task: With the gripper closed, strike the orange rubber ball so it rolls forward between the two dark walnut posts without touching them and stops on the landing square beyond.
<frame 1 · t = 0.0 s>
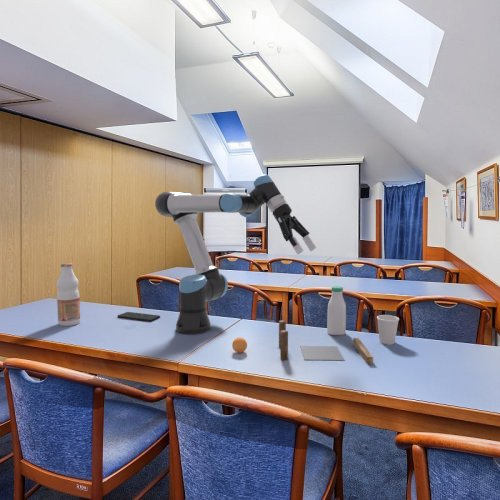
hand: (307, 251, 157), 36 cm above the table, tool tilted 35°, fingers open, 13 cm apart
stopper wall: (362, 353, 143), on the table
ball: (239, 345, 144), on the table
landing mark: (321, 353, 144), on the table
milk bottle: (336, 333, 167), on the table
fruit juice: (69, 324, 182), on the table
post 2: (284, 359, 138), on the table
post 1: (282, 346, 150), on the table
smart home device: (138, 319, 192), on the table
dixie cup: (387, 342, 156), on the table
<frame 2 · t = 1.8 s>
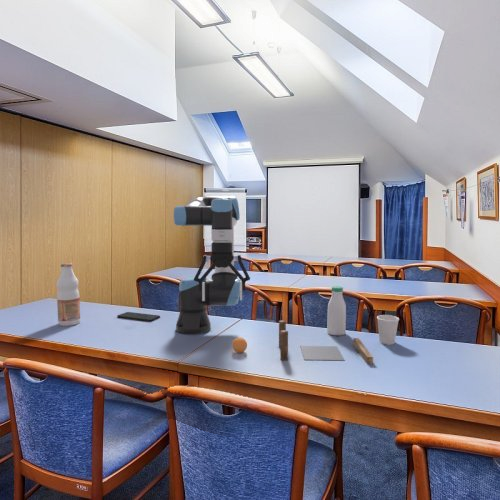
hand: (222, 300, 143), 20 cm above the table, tool pointing down, fingers open, 13 cm apart
nothing on the table moved.
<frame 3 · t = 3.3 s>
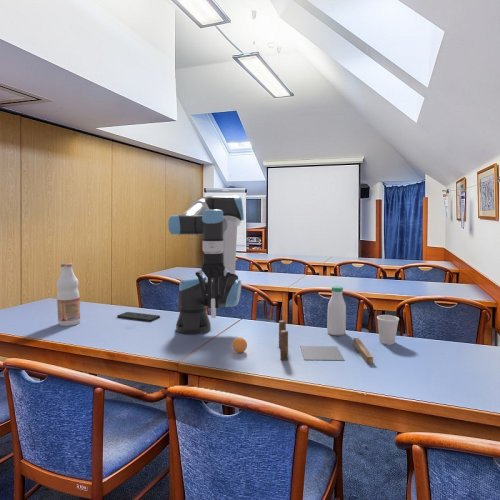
hand: (213, 316, 143), 13 cm above the table, tool pointing down, fingers closed
nothing on the table moved.
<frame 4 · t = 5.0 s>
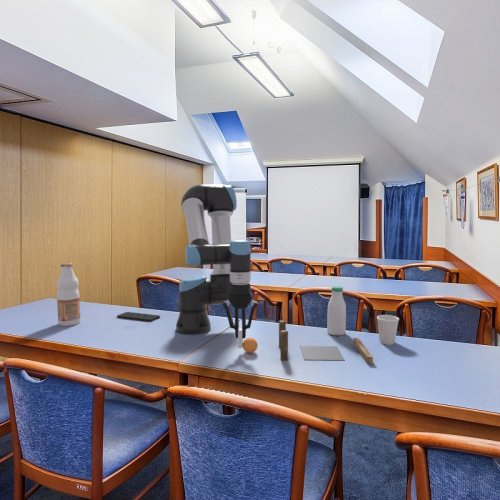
hand: (240, 346, 144), 2 cm above the table, tool pointing down, fingers closed
ball: (250, 345, 144), on the table
everything else where it was.
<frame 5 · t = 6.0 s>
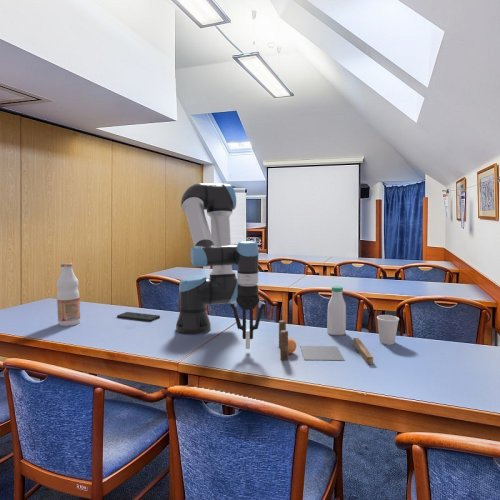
hand: (247, 347, 144), 2 cm above the table, tool pointing down, fingers closed
ball: (288, 345, 143), on the table
everything else where it was.
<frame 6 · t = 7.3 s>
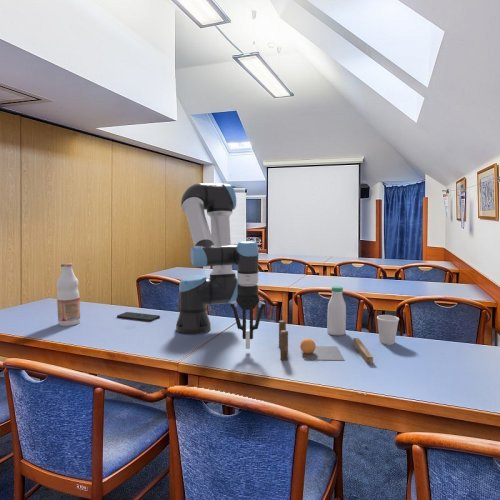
hand: (247, 347, 144), 2 cm above the table, tool pointing down, fingers closed
ball: (308, 346, 143), on the table
everything else where it was.
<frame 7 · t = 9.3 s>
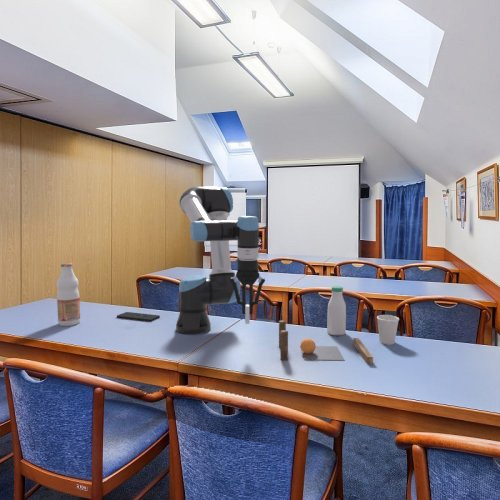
hand: (247, 322, 144), 11 cm above the table, tool pointing down, fingers closed
nothing on the table moved.
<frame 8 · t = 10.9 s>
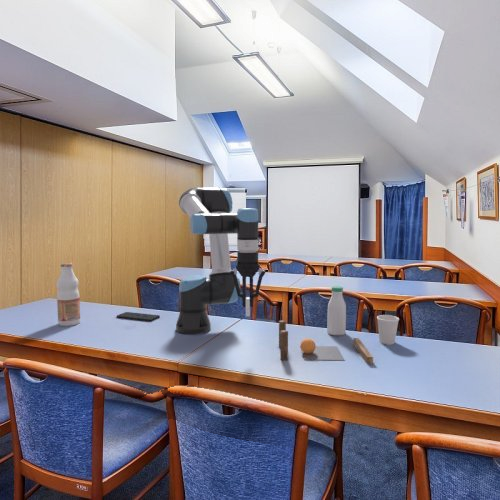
hand: (247, 315, 143), 14 cm above the table, tool pointing down, fingers closed
nothing on the table moved.
at the end: ball 5.0 cm from the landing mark (horizontally); ball never touched post 1; ball never touched post 2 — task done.
